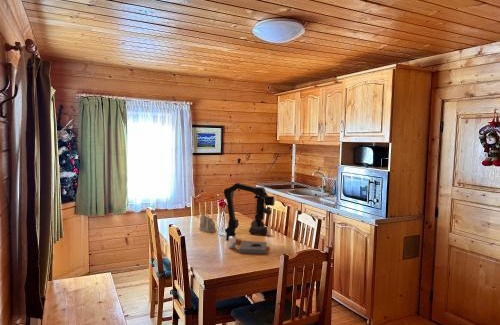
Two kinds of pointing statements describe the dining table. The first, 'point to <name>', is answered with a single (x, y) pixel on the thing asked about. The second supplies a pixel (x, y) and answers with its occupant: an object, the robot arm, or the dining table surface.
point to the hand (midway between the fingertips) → (259, 225)
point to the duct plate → (253, 247)
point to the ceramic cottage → (206, 224)
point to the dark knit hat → (258, 228)
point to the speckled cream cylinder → (232, 242)
